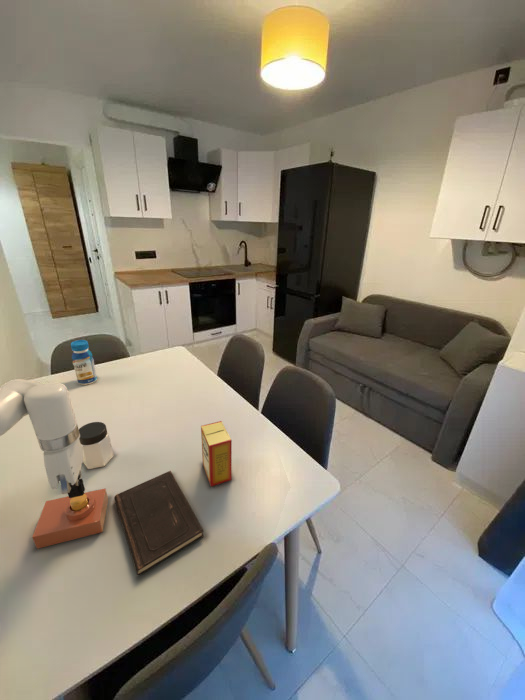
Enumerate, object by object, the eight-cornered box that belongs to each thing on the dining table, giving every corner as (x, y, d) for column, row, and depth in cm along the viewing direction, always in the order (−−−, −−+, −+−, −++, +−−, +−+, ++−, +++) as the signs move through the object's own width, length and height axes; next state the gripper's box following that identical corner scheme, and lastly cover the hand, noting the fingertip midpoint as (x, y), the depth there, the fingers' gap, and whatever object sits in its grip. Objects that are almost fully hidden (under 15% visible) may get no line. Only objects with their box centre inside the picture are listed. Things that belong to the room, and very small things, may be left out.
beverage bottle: (101, 378, 142) (94, 340, 134) (88, 386, 134) (79, 347, 126) (87, 375, 143) (78, 338, 135) (73, 383, 136) (63, 344, 128)
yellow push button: (69, 512, 71) (68, 507, 71) (73, 500, 74) (71, 494, 74) (86, 509, 72) (84, 503, 72) (89, 497, 76) (87, 491, 75)
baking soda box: (231, 479, 90) (231, 439, 83) (210, 486, 87) (209, 445, 80) (222, 458, 97) (221, 419, 91) (202, 464, 95) (200, 424, 88)
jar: (115, 447, 100) (109, 419, 95) (112, 465, 93) (105, 435, 88) (85, 453, 97) (77, 424, 92) (80, 471, 90) (71, 441, 85)
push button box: (36, 548, 69) (29, 532, 66) (50, 512, 77) (44, 496, 75) (102, 532, 73) (98, 515, 71) (108, 498, 82) (104, 483, 79)
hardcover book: (171, 475, 90) (170, 470, 89) (203, 536, 73) (203, 530, 72) (115, 501, 81) (113, 495, 80) (137, 577, 64) (136, 570, 63)
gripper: (50, 418, 70) (67, 474, 77) (26, 463, 57) (50, 525, 64) (85, 413, 72) (99, 468, 80) (70, 455, 59) (88, 516, 67)
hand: (77, 493), depth 72 cm, fingers closed
